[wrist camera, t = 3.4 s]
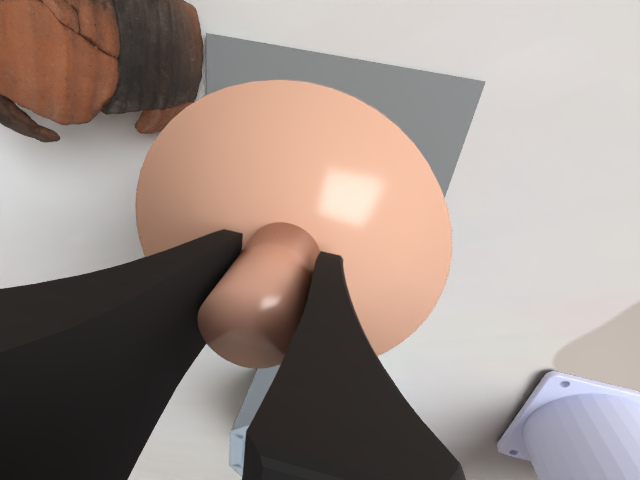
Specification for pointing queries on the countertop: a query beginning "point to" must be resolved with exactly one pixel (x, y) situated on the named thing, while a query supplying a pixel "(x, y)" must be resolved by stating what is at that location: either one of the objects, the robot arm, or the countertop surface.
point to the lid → (297, 212)
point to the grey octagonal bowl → (248, 415)
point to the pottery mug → (97, 61)
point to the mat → (362, 91)
